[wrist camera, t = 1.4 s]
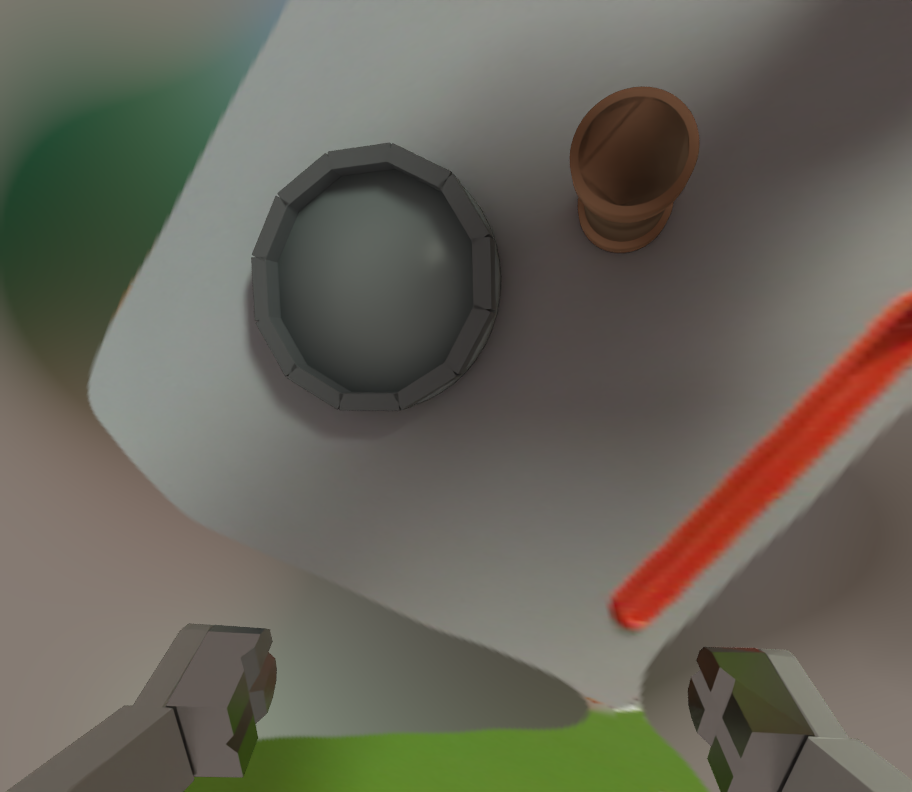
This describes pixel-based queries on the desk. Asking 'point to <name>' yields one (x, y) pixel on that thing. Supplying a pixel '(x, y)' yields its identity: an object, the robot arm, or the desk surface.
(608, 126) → the brown flared cylinder
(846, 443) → the desk surface
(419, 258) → the round dish
